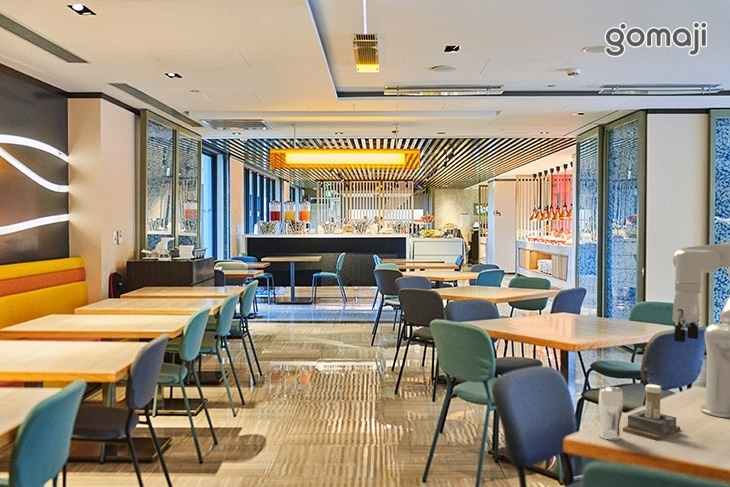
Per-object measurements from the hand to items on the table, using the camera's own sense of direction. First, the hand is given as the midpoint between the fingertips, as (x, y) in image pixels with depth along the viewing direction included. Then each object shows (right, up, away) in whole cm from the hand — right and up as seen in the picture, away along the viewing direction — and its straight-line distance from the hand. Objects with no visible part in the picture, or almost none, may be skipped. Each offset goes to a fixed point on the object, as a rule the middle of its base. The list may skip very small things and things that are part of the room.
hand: (686, 339), depth 206 cm
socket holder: (-14, -28, -5) cm, 32 cm away
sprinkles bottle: (-14, -27, -5) cm, 31 cm away
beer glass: (-30, -28, -12) cm, 43 cm away
